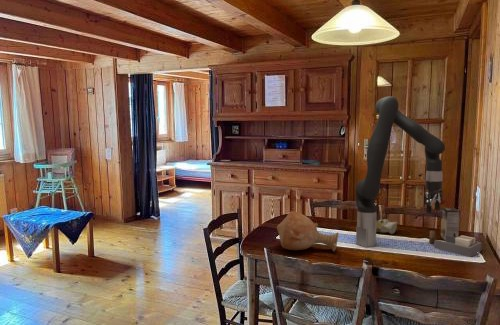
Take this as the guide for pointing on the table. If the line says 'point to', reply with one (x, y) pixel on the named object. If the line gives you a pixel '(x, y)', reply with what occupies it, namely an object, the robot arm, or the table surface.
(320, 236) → the jug
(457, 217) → the coffee box
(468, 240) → the wooden mallet
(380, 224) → the ceramic sculpture
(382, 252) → the table surface
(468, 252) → the gray tray
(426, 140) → the robot arm
